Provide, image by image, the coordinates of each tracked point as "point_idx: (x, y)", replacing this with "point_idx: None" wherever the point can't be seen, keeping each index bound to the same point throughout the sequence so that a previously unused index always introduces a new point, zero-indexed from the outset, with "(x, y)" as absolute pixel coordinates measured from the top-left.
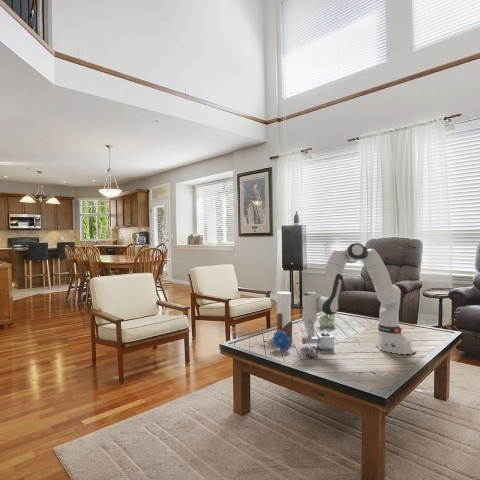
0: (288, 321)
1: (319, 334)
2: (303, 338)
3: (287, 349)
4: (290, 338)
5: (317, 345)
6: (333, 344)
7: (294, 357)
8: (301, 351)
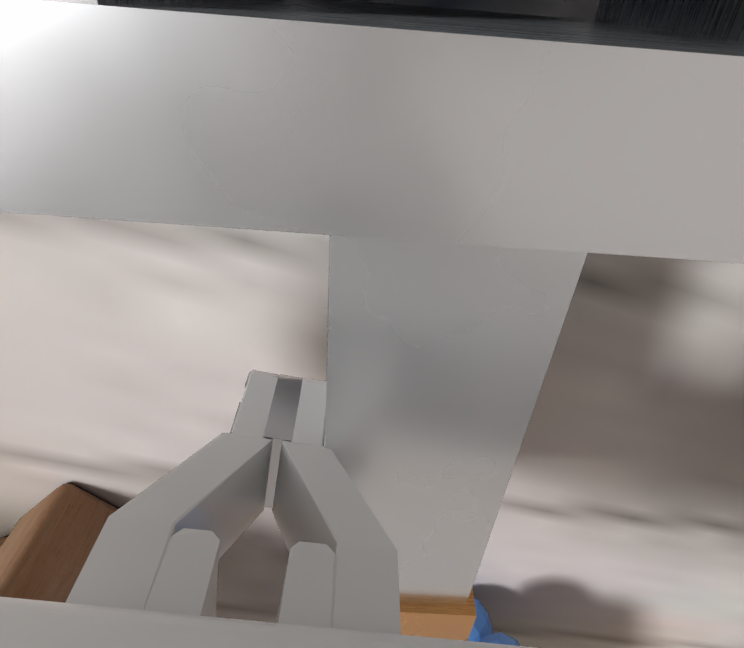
0: None
1: (329, 102)
2: (465, 636)
3: (488, 616)
4: (72, 587)
5: None
6: None
7: (726, 572)
8: (532, 461)
